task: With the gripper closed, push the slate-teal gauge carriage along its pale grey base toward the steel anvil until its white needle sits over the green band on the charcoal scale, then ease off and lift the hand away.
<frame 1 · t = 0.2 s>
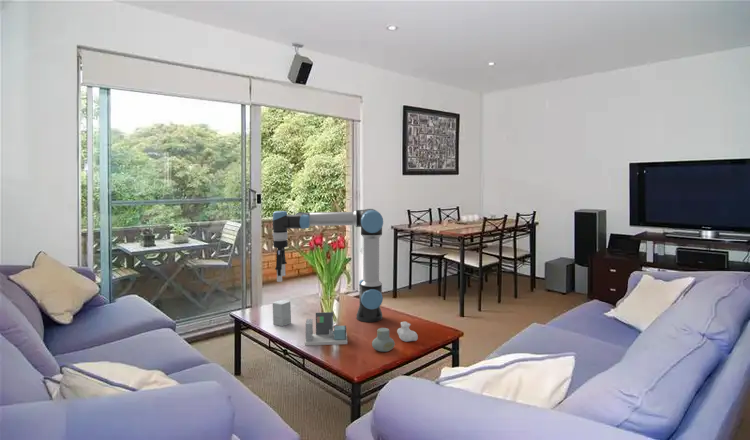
hand: (281, 278, 248), 28 cm above the table, tool pointing down, fingers open, 13 cm apart
gauge: (337, 327, 233), point 7 cm above the table, slide at 0.0 cm
gauge stand: (326, 340, 233), on the table
supplement box: (282, 324, 260), on the table
air freshener: (383, 350, 220), on the table
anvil: (309, 341, 231), resting on gauge stand
duck figurine: (406, 341, 232), on the table
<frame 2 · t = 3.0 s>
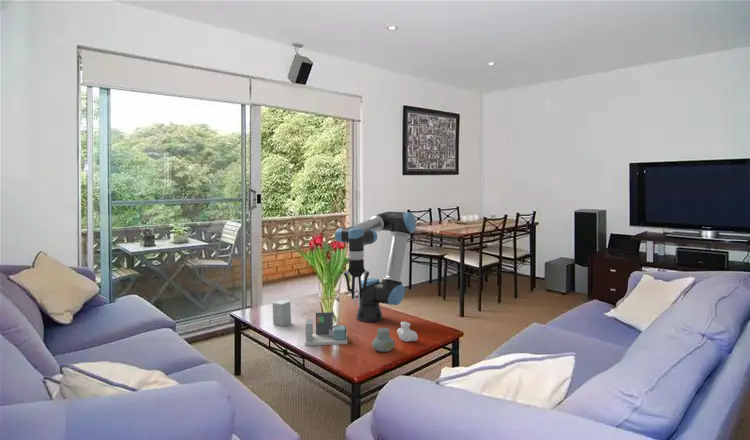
hand: (356, 304, 231), 18 cm above the table, tool pointing down, fingers closed
nothing on the table moved.
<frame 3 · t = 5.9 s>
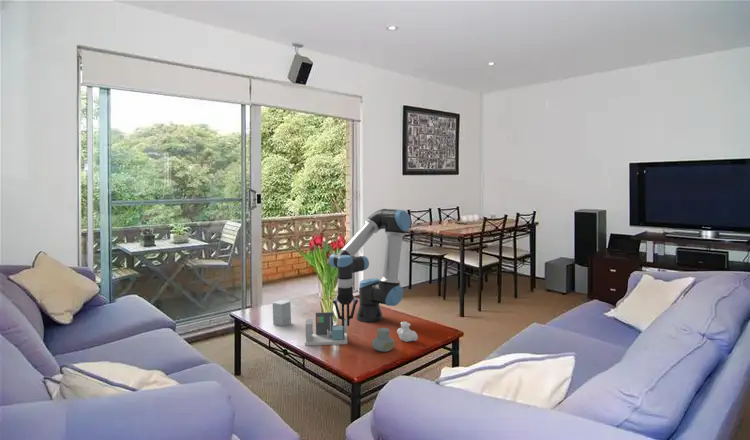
hand: (345, 331, 232), 4 cm above the table, tool pointing down, fingers closed
gauge: (335, 327, 233), point 7 cm above the table, slide at 1.0 cm, touching gripper
everything else where it was.
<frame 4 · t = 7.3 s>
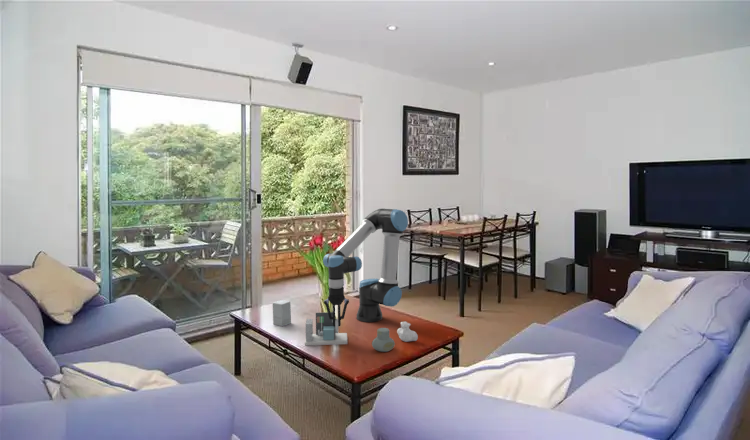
hand: (336, 332, 232), 4 cm above the table, tool pointing down, fingers closed
gauge: (326, 327, 232), point 7 cm above the table, slide at 5.5 cm, touching gripper
everything else where it was.
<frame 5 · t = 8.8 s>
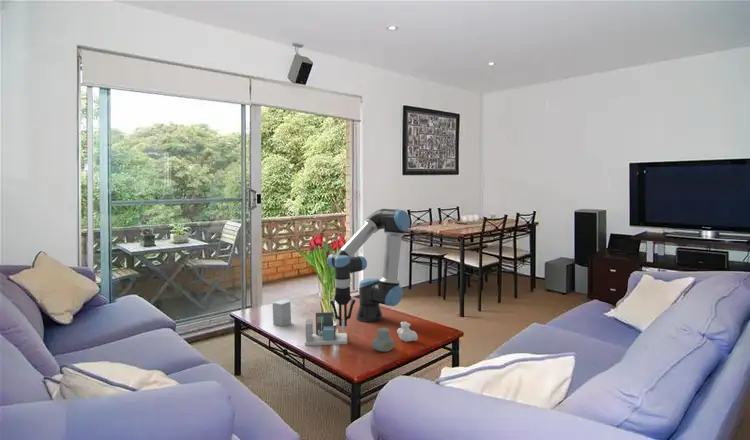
hand: (343, 332, 232), 4 cm above the table, tool pointing down, fingers closed
gauge: (326, 327, 232), point 7 cm above the table, slide at 5.5 cm
everything else where it was.
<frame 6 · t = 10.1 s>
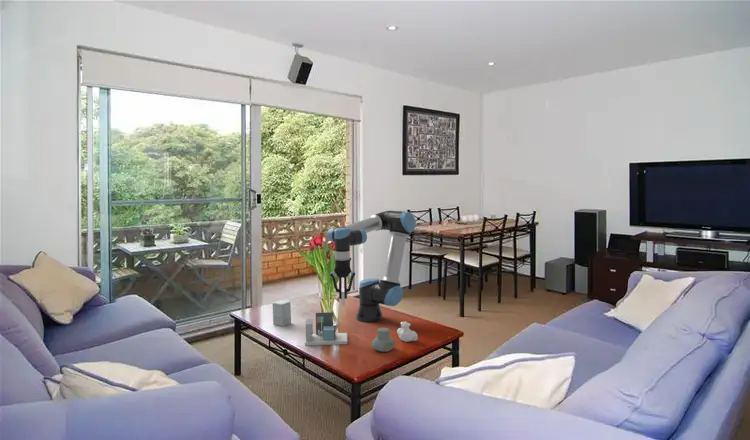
hand: (343, 305, 231), 18 cm above the table, tool pointing down, fingers closed
nothing on the table moved.
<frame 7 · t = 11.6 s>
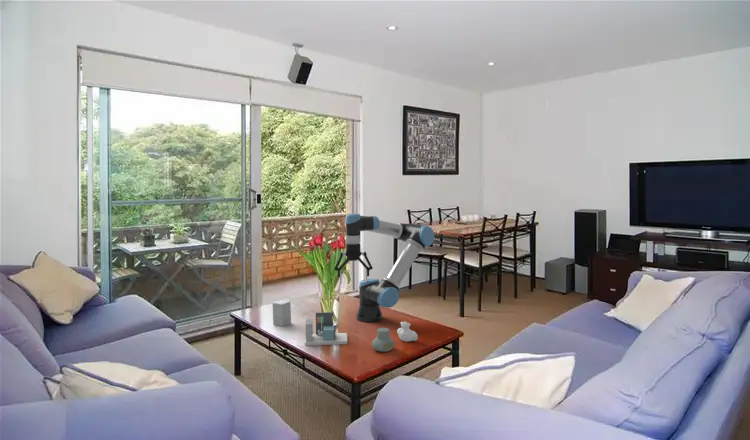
hand: (353, 282, 243), 27 cm above the table, tool pointing down, fingers open, 13 cm apart
nothing on the table moved.
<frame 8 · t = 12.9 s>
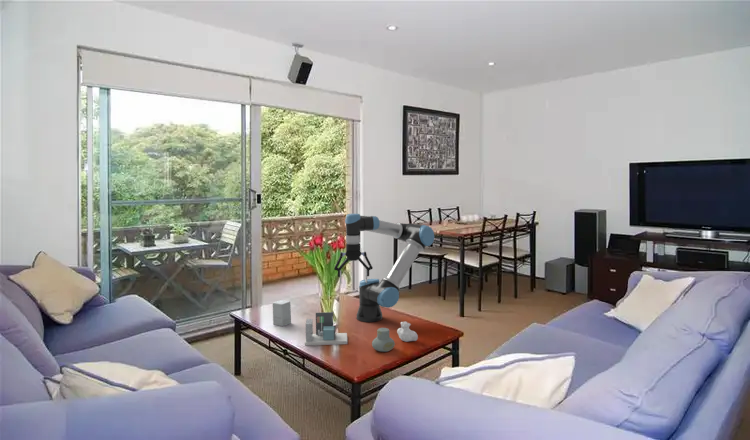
hand: (353, 282, 243), 27 cm above the table, tool pointing down, fingers open, 13 cm apart
nothing on the table moved.
at the end: gauge slide at 5.5 cm; the gripper is holding nothing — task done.
